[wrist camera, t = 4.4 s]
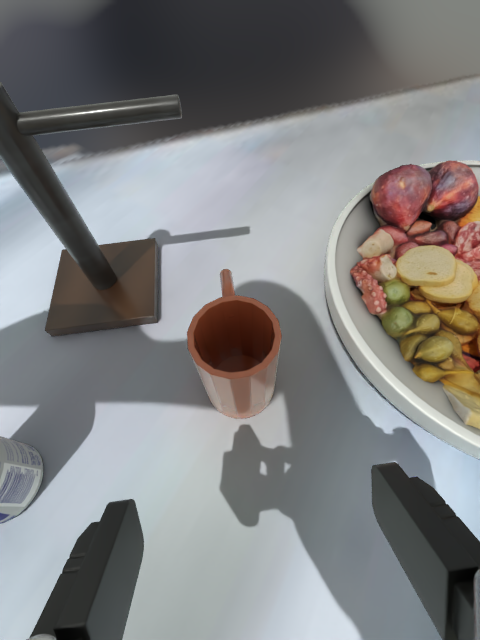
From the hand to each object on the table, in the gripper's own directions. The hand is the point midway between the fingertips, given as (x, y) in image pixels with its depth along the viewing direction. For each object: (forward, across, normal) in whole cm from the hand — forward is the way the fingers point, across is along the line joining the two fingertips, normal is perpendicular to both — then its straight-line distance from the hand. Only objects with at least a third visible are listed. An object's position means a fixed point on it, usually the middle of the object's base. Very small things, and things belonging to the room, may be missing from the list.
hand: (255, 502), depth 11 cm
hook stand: (+25, +9, -5) cm, 27 cm away
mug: (+17, 0, +2) cm, 17 cm away
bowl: (+19, -23, 0) cm, 30 cm away
